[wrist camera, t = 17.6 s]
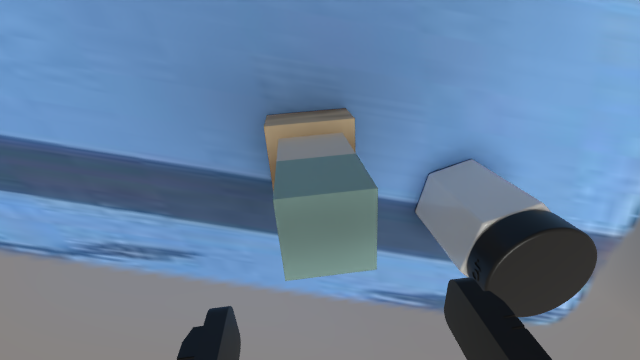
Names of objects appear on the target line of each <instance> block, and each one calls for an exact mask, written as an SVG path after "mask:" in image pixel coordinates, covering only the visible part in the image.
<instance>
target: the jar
mask: <svg viewBox="0 0 640 360" xmlns="http://www.w3.org/2000/svg"><path fill="white" fill-rule="evenodd" d="M415 212H416V214H417V215H418V217H419V218H420V219H421V221H422V222H423V223H424V225H425V226H426V227H427V228H428V230H429V231H430V232H431V234H432V235H433V236H434V238H435V239H436V240H437V242H438V243H439V244H440V246H441V247H442V248H443V249H444V251H445V252H446V253H447V255H448V256H449V257H450V259H451V260H452V261H453V263H454V264H455V265H456V266H457V268H458V269H459V270H460V272H462V273H463V274H464V275H466V276H467V277H468V278H469V277H471V278H473V279H474V280H475V281H476V282H477V284H478V285H479V286H480V287H481V289H482V290H483V291H491V292H492V293H494V294H495V295H496V296H498V297H499V298H500V299H502V300H503V301H504V302H505V303H506V304H507V305H508V306H509V308H510V309H511V310H512V311H513V313H514V314H515V316H516V317H529V316H534V315H538V314H541V313H545V312H547V311H550V310H552V309H554V308H556V307H558V306H560V305H562V304H563V303H565V302H566V301H568V300H569V299H570V298H572V297H573V296H574V295H575V294H576V293H577V292H579V291H580V290H581V288H582V287H583V286H584V285H585V284H586V283H587V281H588V280H589V278H590V276H591V275H592V273H593V271H594V268H595V265H596V261H597V250H596V247H595V244H594V242H593V240H592V239H591V238H590V237H589V236H588V235H587V234H586V233H584V232H583V231H581V230H579V229H578V228H576V227H575V226H573V225H572V224H570V223H568V222H567V221H565V220H564V219H562V218H560V217H559V216H557V215H556V214H554V213H552V212H551V211H550V210H549V209H548V208H547V207H546V206H545V204H544V203H542V202H541V201H539V200H537V199H536V198H534V197H532V196H531V195H529V194H528V193H526V192H524V191H523V190H521V189H520V188H518V187H516V186H515V185H513V184H511V183H510V182H508V181H507V180H505V179H503V178H502V177H500V176H499V175H497V174H495V173H494V172H492V171H491V170H489V169H487V168H486V167H484V166H482V165H481V164H479V163H478V162H476V161H474V160H472V159H471V160H468V161H465V162H462V163H459V164H456V165H454V166H451V167H448V168H445V169H442V170H439V171H436V172H433V173H431V174H429V176H428V178H427V181H426V184H425V186H424V189H423V192H422V195H421V197H420V200H419V203H418V205H417V208H416V211H415Z"/></svg>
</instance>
